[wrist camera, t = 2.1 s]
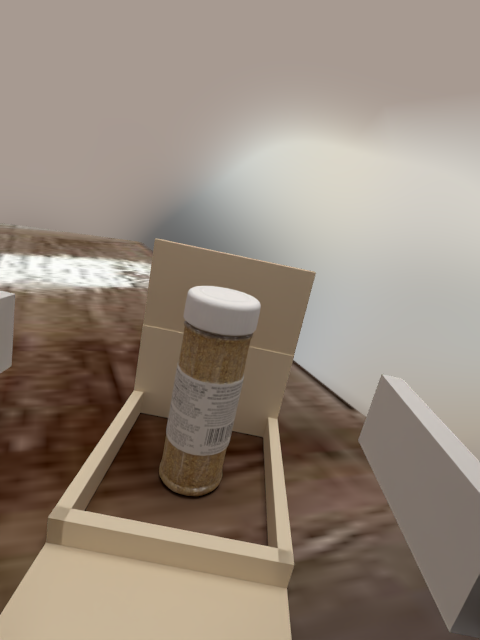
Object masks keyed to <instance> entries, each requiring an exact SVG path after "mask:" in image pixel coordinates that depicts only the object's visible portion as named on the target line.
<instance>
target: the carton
mask: <svg viewBox="0 0 480 640" xmlns="http://www.w3.org/2000/svg"><path fill="white" fill-rule="evenodd" d="M315 274H316V273H315V272H313V271H308V270H304V269H298V268H294V267H290V266H285V265H280V264H276V263H271V262H266V261H261V260H257V259H252V258H247V257H242V256H238V255H232V254H228V253H223V252H219V251H214V250H209V249H204V248H200V247H195V246H190V245H186V244H180V243H175V242H171V241H166V240H162V239H155V243H154V250H153V258H152V265H151V272H150V280H149V287H148V294H147V302H146V309H145V316H144V323H143V329H142V336H141V343H140V351H139V358H138V365H137V373H136V380H135V387H134V391H133V393H132V394H131V396H130V397H129V399H128V400H127V402H126V403H125V405H124V406H123V407H122V409H121V410H120V412H119V413H118V415H117V416H116V418H115V419H114V421H113V422H112V424H111V425H110V427H109V428H108V430H107V431H106V433H105V434H104V436H103V437H102V439H101V440H100V441H99V443H98V444H97V446H96V447H95V449H94V450H93V452H92V453H91V455H90V456H89V458H88V459H87V461H86V462H85V464H84V465H83V467H82V468H81V470H80V471H79V472H78V474H77V475H76V477H75V478H74V480H73V481H72V483H71V484H70V486H69V487H68V489H67V490H66V492H65V493H64V495H63V496H62V498H61V499H60V501H59V502H58V504H57V505H56V506H55V508H54V509H53V511H52V512H51V514H50V515H49V517H48V523H47V537H46V543H45V545H44V547H43V548H42V550H41V551H40V553H39V555H38V556H37V558H36V559H35V561H34V562H33V564H32V566H31V567H30V569H29V570H28V572H27V574H26V575H25V577H24V578H23V580H22V581H21V583H20V585H19V586H18V588H17V589H16V591H15V593H14V594H13V596H12V597H11V599H10V600H9V602H8V604H7V605H6V607H5V608H4V610H3V612H2V613H1V615H0V640H291V629H290V618H289V607H288V596H287V586H288V583H289V580H290V577H291V574H292V571H293V568H294V558H293V550H292V541H291V533H290V524H289V515H288V507H287V498H286V490H285V481H284V473H283V464H282V456H281V447H280V438H279V430H278V421H277V418H278V415H279V411H280V407H281V403H282V400H283V396H284V392H285V388H286V384H287V381H288V377H289V373H290V369H291V366H292V362H293V358H294V353H295V349H296V346H297V342H298V338H299V334H300V331H301V327H302V323H303V319H304V315H305V311H306V308H307V304H308V300H309V296H310V292H311V289H312V285H313V281H314V278H315ZM196 286H216V287H223V288H228V289H233V290H237V291H240V292H243V293H246V294H248V295H251V296H253V297H254V298H256V299H257V300H258V301H259V302H260V305H261V308H260V314H259V319H258V323H257V328H256V330H255V331H254V332H253V337H252V338H251V341H250V346H249V350H248V355H247V359H246V365H245V370H244V379H243V384H242V389H241V393H240V398H239V402H238V406H237V411H236V416H235V420H234V424H233V428H232V431H235V432H240V433H245V434H250V435H255V436H260V437H263V444H264V466H265V489H266V511H267V534H268V546H263V545H258V544H253V543H248V542H243V541H237V540H232V539H227V538H222V537H217V536H212V535H206V534H201V533H196V532H191V531H186V530H180V529H175V528H170V527H165V526H160V525H155V524H149V523H144V522H139V521H134V520H129V519H123V518H118V517H113V516H108V515H103V514H98V513H92V512H87V511H84V510H85V509H86V507H87V505H88V503H89V502H90V500H91V498H92V496H93V495H94V493H95V491H96V489H97V488H98V486H99V484H100V482H101V481H102V479H103V477H104V475H105V474H106V472H107V470H108V468H109V467H110V465H111V463H112V461H113V460H114V458H115V456H116V454H117V453H118V451H119V449H120V447H121V445H122V444H123V442H124V440H125V438H126V437H127V435H128V433H129V431H130V430H131V428H132V426H133V424H134V423H135V421H136V419H137V417H138V416H139V414H140V413H145V414H150V415H155V416H160V417H165V418H168V416H169V410H170V404H171V398H172V392H173V386H174V381H175V374H176V368H177V363H178V361H179V356H180V351H181V345H182V340H183V335H184V328H185V326H184V321H186V320H185V319H184V309H185V303H186V298H187V293H188V291H189V290H190V289H191V288H193V287H196Z"/></svg>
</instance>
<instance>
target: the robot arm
mask: <svg viewBox="0 0 480 640" xmlns="http://www.w3.org/2000/svg"><path fill="white" fill-rule="evenodd" d="M14 306H15V294H13V293H8V292H4V291H0V373H1V372H3V371H4V370H6V369H8V368H9V367H11V364H12V344H13V325H14ZM359 443H360V445H361V447H362V449H363V451H364V453H365V455H366V457H367V459H368V462H369V464H370V466H371V468H372V470H373V472H374V474H375V476H376V478H377V480H378V483H379V485H380V487H381V489H382V491H383V493H384V495H385V497H386V499H387V502H388V504H389V506H390V508H391V510H392V512H393V514H394V516H395V518H396V521H397V523H398V525H399V527H400V529H401V531H402V533H403V535H404V537H405V540H406V542H407V544H408V546H409V548H410V550H411V552H412V554H413V556H414V558H415V561H416V563H417V565H418V567H419V569H420V571H421V573H422V575H423V577H424V580H425V582H426V584H427V586H428V588H429V590H430V592H431V594H432V596H433V599H434V601H435V603H436V605H437V607H438V609H439V611H440V613H441V615H442V618H443V620H444V622H445V624H446V626H447V628H448V630H449V632H452V633H457V634H462V635H467V636H472V637H477V638H480V461H478V459H477V458H476V457H475V456H474V455H473V454H472V453H471V452H470V451H469V450H468V449H467V448H466V447H465V445H464V444H463V443H462V442H461V441H460V440H459V439H458V438H457V437H456V436H455V435H454V434H453V433H452V432H451V431H450V429H449V428H448V427H447V426H446V425H445V424H444V423H443V422H442V421H441V420H440V419H439V417H438V416H437V415H436V414H435V413H434V412H433V411H432V410H431V409H430V408H429V407H428V406H427V405H426V404H425V402H424V401H423V400H422V399H421V398H420V397H419V396H418V395H417V394H416V393H415V392H414V391H413V389H412V388H410V386H409V385H408V384H407V383H406V382H405V381H404V380H403V379H402V378H397V377H392V376H388V375H383V374H382V375H381V378H380V381H379V383H378V386H377V389H376V392H375V395H374V397H373V400H372V403H371V406H370V409H369V412H368V414H367V417H366V420H365V423H364V426H363V429H362V431H361V434H360V437H359Z"/></svg>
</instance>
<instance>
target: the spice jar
mask: <svg viewBox="0 0 480 640" xmlns="http://www.w3.org/2000/svg"><path fill="white" fill-rule="evenodd" d="M260 308H261V305H260V302H259V301H258V300H257V299H256V298H254V297H253V296H251V295H248V294H246V293H243V292H240V291H237V290H233V289H228V288H223V287H216V286H196V287H193V288H191V289H190V290H189V291H188V293H187V298H186V303H185V309H184V319H185V320H186V321H184V326H185V328H184V335H183V340H182V345H181V351H180V356H179V361H178V363H177V368H176V374H175V381H174V386H173V392H172V398H171V404H170V410H169V416H168V422H167V429H166V440H165V446H164V452H163V457H162V460H161V463H160V466H159V475H160V477H161V479H162V481H163V483H164V484H165V485H166V486H167V487H168V488H169V489H171V490H172V491H174V492H176V493H179V494H183V495H186V496H200V495H204V494H207V493H209V492H211V491H213V490H214V489H215V488H216V487H217V486H218V485H219V484H220V481H221V478H222V467H223V462H224V458H225V453H226V449H227V446H228V444H229V441H230V437H231V433H232V428H233V424H234V420H235V416H236V411H237V406H238V402H239V398H240V393H241V389H242V384H243V379H244V370H245V365H246V359H247V355H248V350H249V346H250V341H251V338H252V337H253V332H254V331H255V330H256V328H257V323H258V319H259V314H260Z"/></svg>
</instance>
